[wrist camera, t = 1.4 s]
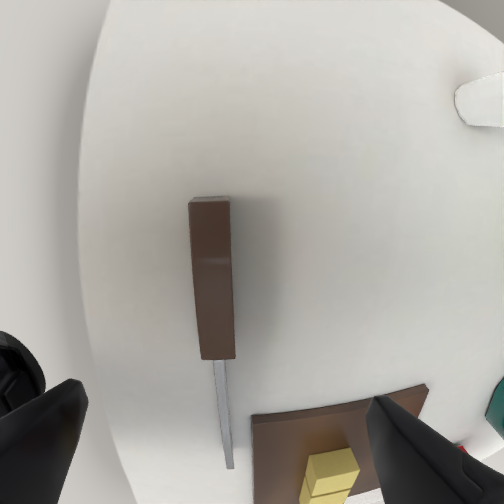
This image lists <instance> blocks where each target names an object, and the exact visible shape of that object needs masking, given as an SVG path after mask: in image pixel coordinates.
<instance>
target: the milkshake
mask: <svg viewBox="0 0 504 504" xmlns="http://www.w3.org/2000/svg"><path fill="white" fill-rule="evenodd" d="M455 106H456V108H457V111H458V113H459V116H460V117H461V118H462V119H463V120H464V121H465V123H466V124H467V125H473V126H489V127H503V128H504V71H502V72H499V73H496V74H492V75H489V76H486V77H483V78H480V79H477V80H474V81H471V82H468V83H465V84H463V85H461V86H460V87H459V88H458V89H457V90H456V91H455Z"/></svg>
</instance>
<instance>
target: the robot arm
mask: <svg viewBox="0 0 504 504" xmlns="http://www.w3.org/2000/svg"><path fill="white" fill-rule="evenodd" d="M87 408H88V397H87V395H86V392H85V389H84V387H83V384H82V382H81V381H79V380H75V379H68V380H66V381H64V382H62V383H61V384H59V385H57V386H55V387H54V388H52V389H50V390H48V391H47V392H45V393H43V394H42V395H39V393H38V391H37V389H36V387H35V384H34V382H33V380H32V378H31V376H30V373H29V371H28V369H27V366H26V364H25V361H24V359H23V357H22V354H21V352H20V350H19V349H18V348H16V347H10V346H4V345H0V504H57V503H58V500H59V497H60V494H61V490H62V488H63V484H64V481H65V479H66V476H67V473H68V470H69V467H70V464H71V461H72V458H73V456H74V453H75V450H76V447H77V445H78V442H79V438H80V434H81V430H82V426H83V422H84V419H85V415H86V411H87ZM365 418H366V425H367V431H368V436H369V442H370V448H371V454H372V459H373V463H374V467H375V470H376V474H377V477H378V481H379V484H380V488H381V491H382V495H383V499H384V502H385V504H504V475H503V474H501V473H499V472H497V471H495V470H493V469H492V468H490V467H488V466H486V465H484V464H483V463H481V462H480V461H478V460H476V459H475V458H473V457H472V456H470V455H469V454H467V453H466V452H465V451H463V452H462V449H460V448H459V447H457V446H456V445H455V444H453V443H452V442H450V441H449V440H447V439H446V438H445V437H443V436H442V435H440V434H439V433H438V432H436V431H435V430H433V429H432V428H431V427H429V426H428V425H427V424H425V423H424V422H422V421H421V420H420V419H418V418H417V417H416V416H414V415H413V414H411V413H410V412H409V411H407V410H406V409H405V408H403V407H402V406H401V405H399V404H398V403H397V402H395V401H394V400H393V399H391V398H390V397H389V396H387V395H379V396H374V397H373V398H372V400H371V403H370V405H369V407H368V410H367V412H366V417H365Z"/></svg>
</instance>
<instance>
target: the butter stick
mask: <svg viewBox="0 0 504 504" xmlns="http://www.w3.org/2000/svg"><path fill="white" fill-rule="evenodd" d="M350 490H351V489H350V488H348V489H343V490H339V491H335V492H330V493H326V494H321V495H316V496H311V493H310V489H309V485H308V482H307V478H306V476H305V477H304V481H303V485H302V489H301V493H300V497H299V503H300V504H344V502H345V500H346V498H347V496H348V494H349V492H350Z"/></svg>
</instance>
